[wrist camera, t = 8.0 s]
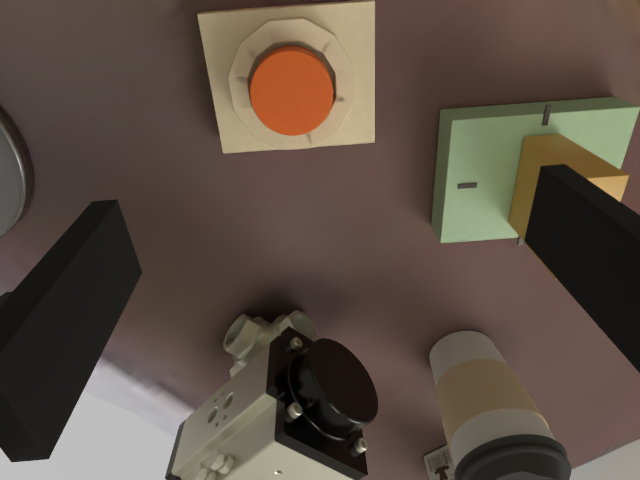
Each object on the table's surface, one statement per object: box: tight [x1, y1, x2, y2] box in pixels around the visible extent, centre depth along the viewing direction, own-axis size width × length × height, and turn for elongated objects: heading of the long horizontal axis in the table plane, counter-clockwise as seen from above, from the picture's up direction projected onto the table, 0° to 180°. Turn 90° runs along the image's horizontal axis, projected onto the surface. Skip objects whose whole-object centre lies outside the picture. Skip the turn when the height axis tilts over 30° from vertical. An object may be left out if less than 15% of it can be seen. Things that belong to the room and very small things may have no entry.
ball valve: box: [165, 310, 378, 480], centre depth 36 cm, size 18×8×18 cm, turn 139°
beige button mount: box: [197, 0, 375, 153], centre depth 29 cm, size 11×9×4 cm
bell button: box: [250, 46, 333, 136], centre depth 27 cm, size 5×5×2 cm
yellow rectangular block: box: [508, 134, 629, 279], centre depth 29 cm, size 7×3×8 cm, turn 4°
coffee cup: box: [429, 331, 571, 480], centre depth 39 cm, size 9×9×15 cm
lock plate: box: [431, 97, 640, 245], centre depth 33 cm, size 13×11×3 cm
